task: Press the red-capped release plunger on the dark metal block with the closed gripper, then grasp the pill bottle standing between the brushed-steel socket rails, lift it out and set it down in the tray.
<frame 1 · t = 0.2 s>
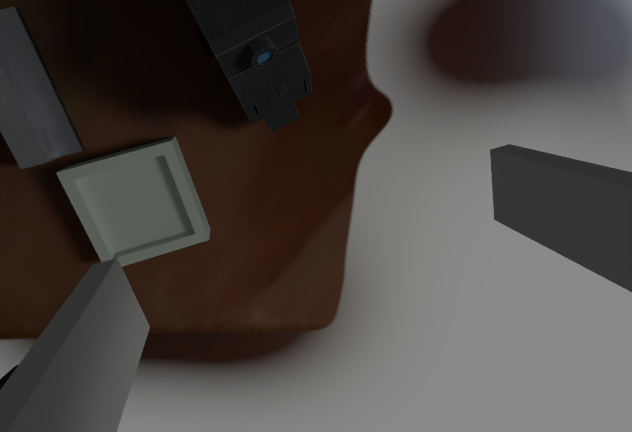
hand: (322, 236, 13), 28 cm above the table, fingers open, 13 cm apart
tray: (144, 199, 39), on the table
tool: (226, 14, 35), on the table
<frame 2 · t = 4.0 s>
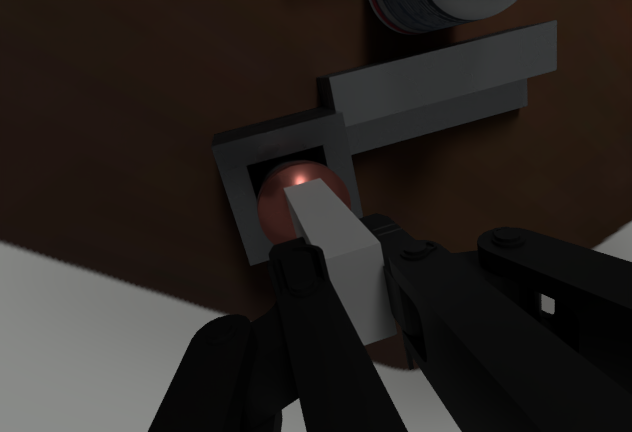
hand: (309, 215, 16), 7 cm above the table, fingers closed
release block: (283, 172, 22), on the table
plunger: (294, 191, 18), point 4 cm above the table, slide at 1.2 cm, touching gripper
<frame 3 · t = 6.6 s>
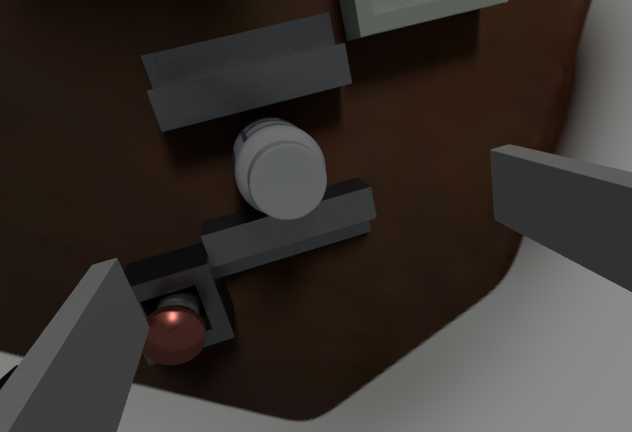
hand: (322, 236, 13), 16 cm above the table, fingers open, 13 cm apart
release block: (183, 286, 30), on the table
plunger: (178, 312, 26), point 4 cm above the table, slide at 1.5 cm
socket: (270, 153, 28), on the table
pill bottle: (269, 153, 28), on the table
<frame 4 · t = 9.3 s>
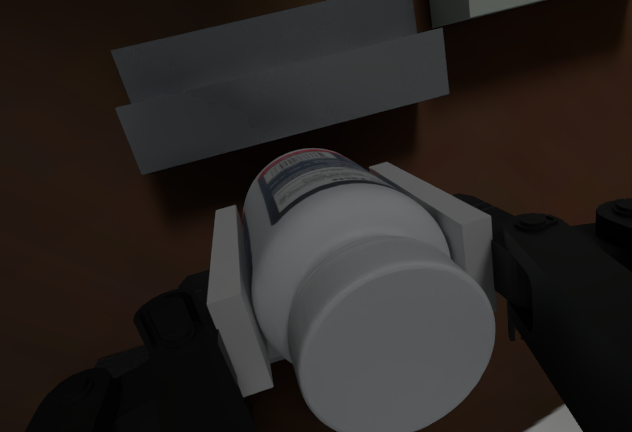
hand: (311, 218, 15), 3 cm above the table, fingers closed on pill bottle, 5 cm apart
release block: (180, 385, 20), on the table
socket: (310, 198, 19), on the table
pill bottle: (308, 210, 16), point 3 cm above the table, touching gripper
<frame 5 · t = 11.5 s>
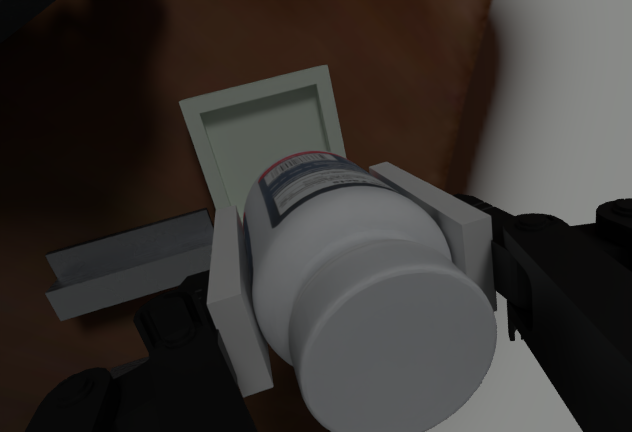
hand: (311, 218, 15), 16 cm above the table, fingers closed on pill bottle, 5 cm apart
tray: (270, 149, 30), on the table
socket: (166, 313, 33), on the table
pill bottle: (309, 212, 16), point 16 cm above the table, touching gripper
when the fingers open (3 cm above the table, at t = 14.0 s): pill bottle stays where it is, resting on tray.
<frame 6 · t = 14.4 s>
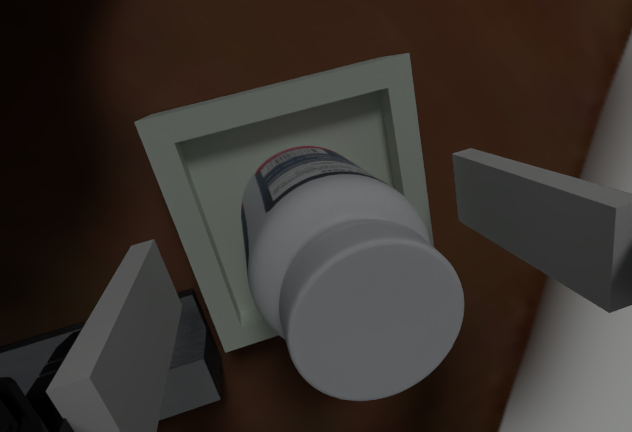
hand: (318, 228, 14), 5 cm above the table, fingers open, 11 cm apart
tray: (297, 194, 18), on the table
pill bottle: (303, 204, 17), point 2 cm above the table, touching tray
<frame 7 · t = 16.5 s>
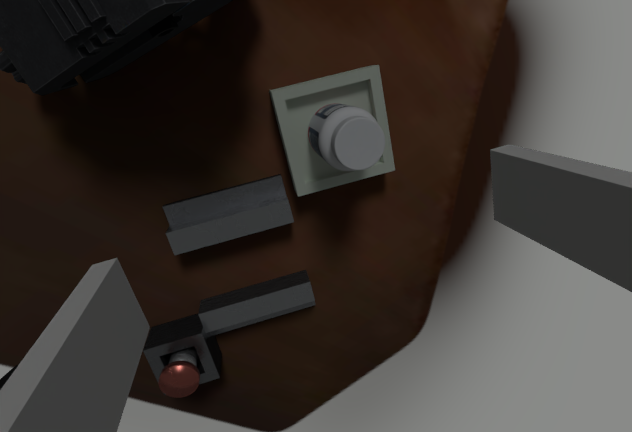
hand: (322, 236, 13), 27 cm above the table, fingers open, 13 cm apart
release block: (187, 340, 44), on the table
tray: (330, 129, 39), on the table
plunger: (183, 362, 41), point 4 cm above the table, slide at 1.5 cm
tool: (143, 20, 34), on the table
socket: (245, 257, 42), on the table
pill bottle: (333, 130, 38), point 2 cm above the table, touching tray
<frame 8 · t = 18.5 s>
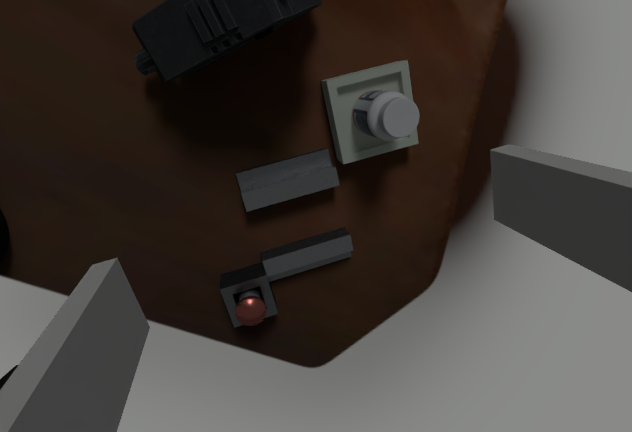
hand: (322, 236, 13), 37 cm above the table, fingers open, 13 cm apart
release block: (248, 286, 54), on the table
tray: (366, 111, 50), on the table
plunger: (249, 300, 51), point 4 cm above the table, slide at 1.5 cm
tool: (227, 26, 44), on the table
socket: (296, 216, 52), on the table
pill bottle: (371, 112, 48), point 2 cm above the table, touching tray
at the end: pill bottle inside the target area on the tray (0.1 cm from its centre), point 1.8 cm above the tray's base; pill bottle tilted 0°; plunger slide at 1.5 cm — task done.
